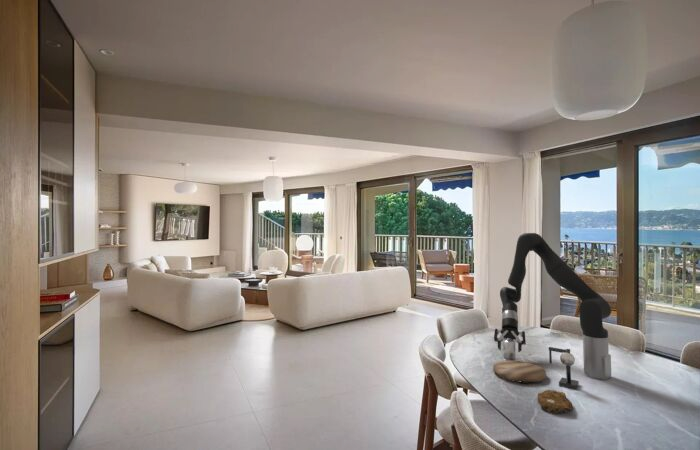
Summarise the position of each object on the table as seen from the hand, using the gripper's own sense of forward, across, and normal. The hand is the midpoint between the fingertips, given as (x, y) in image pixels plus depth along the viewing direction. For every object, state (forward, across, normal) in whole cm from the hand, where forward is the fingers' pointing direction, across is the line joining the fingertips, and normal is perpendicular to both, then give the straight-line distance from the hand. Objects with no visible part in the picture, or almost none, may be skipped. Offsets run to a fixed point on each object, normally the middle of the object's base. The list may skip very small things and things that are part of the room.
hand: (509, 350), depth 177 cm
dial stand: (+17, +21, -9) cm, 29 cm away
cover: (+4, 0, +4) cm, 6 cm away
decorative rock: (+34, +17, -25) cm, 45 cm away
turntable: (+14, +4, -8) cm, 17 cm away
